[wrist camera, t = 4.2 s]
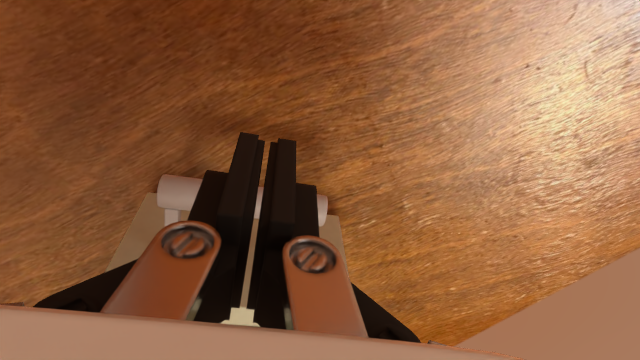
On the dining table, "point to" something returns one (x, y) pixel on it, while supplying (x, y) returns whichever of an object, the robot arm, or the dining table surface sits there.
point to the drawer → (176, 206)
